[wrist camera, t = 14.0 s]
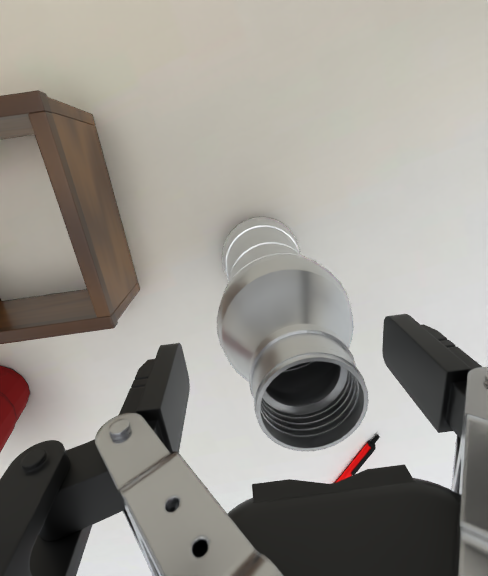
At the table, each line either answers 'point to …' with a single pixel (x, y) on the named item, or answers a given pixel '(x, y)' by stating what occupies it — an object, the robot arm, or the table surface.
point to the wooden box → (72, 223)
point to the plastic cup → (11, 401)
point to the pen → (359, 459)
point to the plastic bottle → (289, 338)
